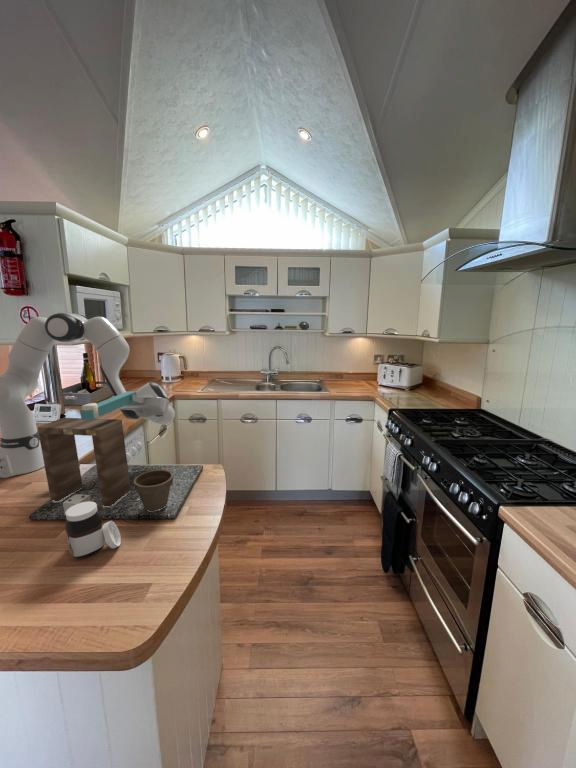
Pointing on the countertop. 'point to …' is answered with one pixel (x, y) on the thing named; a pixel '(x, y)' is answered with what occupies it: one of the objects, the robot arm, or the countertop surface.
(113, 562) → the countertop surface
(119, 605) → the countertop surface
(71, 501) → the ivory die
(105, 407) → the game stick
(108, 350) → the robot arm
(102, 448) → the walnut shelf
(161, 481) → the flower pot
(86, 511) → the spread jar
